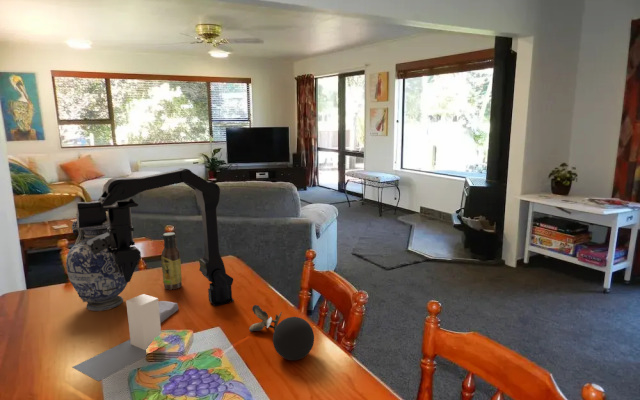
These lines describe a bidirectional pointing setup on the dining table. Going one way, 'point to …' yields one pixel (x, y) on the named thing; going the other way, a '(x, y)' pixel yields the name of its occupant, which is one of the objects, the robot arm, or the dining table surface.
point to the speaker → (293, 338)
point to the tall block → (143, 320)
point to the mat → (111, 361)
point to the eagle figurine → (264, 317)
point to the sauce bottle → (171, 263)
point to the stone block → (166, 309)
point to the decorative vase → (94, 271)
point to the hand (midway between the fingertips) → (124, 277)
